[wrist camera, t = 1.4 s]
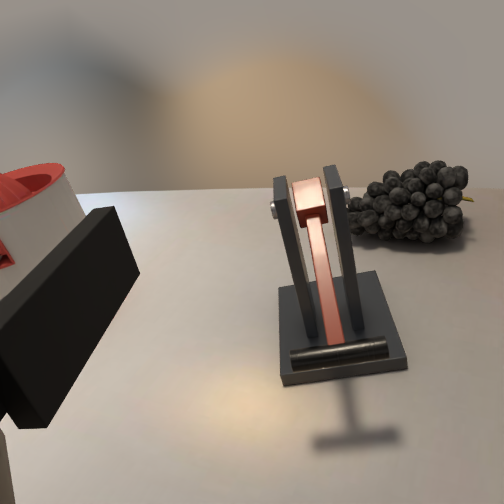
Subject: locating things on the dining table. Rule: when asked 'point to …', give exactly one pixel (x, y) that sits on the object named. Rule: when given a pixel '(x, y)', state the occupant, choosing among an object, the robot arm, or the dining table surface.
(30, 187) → the citrus juicer
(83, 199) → the dining table surface
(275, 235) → the dining table surface
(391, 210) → the fruit
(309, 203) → the lever
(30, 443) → the dining table surface
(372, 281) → the bracket
